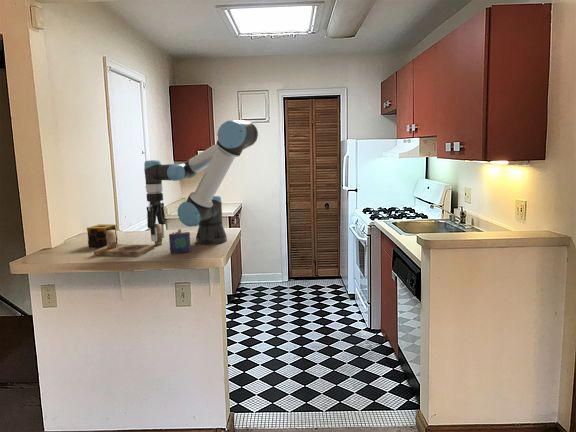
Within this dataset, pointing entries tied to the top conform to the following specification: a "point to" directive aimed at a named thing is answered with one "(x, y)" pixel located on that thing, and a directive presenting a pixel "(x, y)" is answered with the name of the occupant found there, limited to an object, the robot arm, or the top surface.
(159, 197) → the robot arm
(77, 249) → the top surface
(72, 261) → the top surface
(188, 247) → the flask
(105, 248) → the seat board
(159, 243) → the oak leg
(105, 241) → the black and yellow cube
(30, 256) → the top surface
